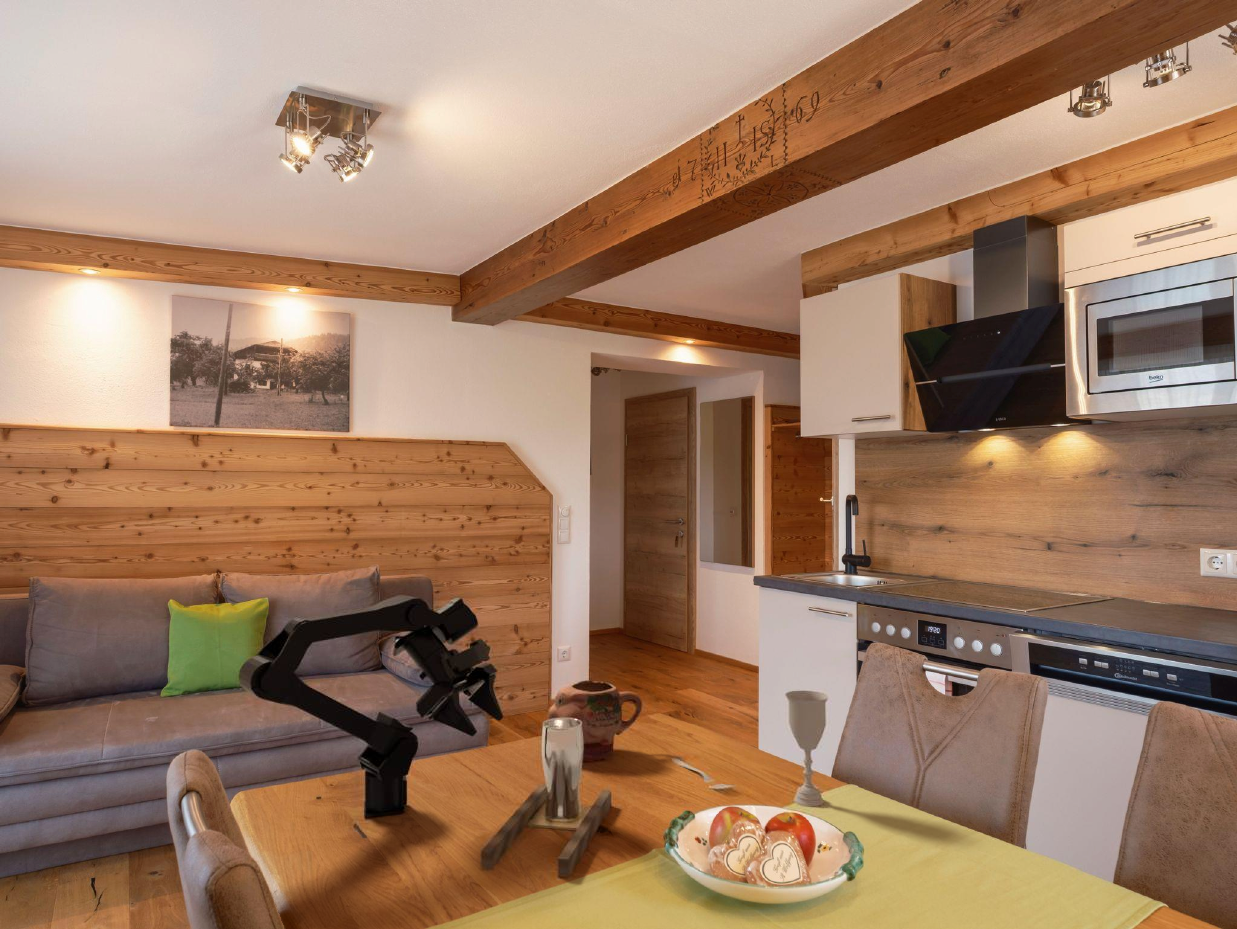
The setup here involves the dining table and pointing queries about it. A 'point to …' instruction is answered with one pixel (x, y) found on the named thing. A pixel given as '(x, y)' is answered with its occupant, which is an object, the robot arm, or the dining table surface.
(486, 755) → the dining table surface
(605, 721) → the sculpted ceramic mug
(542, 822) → the tan square coaster
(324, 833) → the dining table surface
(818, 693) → the chalice
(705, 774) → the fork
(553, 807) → the beer glass
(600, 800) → the channel
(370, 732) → the robot arm
